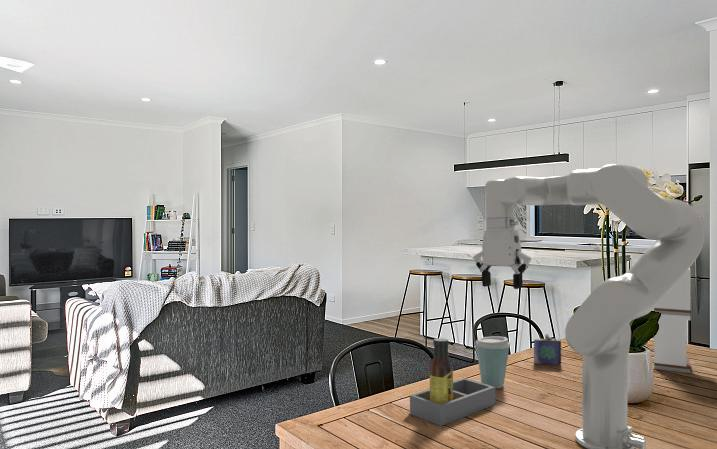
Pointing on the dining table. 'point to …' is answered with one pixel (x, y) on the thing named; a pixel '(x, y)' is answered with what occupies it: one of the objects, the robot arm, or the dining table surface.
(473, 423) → the dining table surface
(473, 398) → the dock
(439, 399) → the sauce bottle
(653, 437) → the dining table surface
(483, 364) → the disposable coffee cup
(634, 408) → the dining table surface
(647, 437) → the dining table surface
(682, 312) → the white square tower
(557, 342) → the flask
